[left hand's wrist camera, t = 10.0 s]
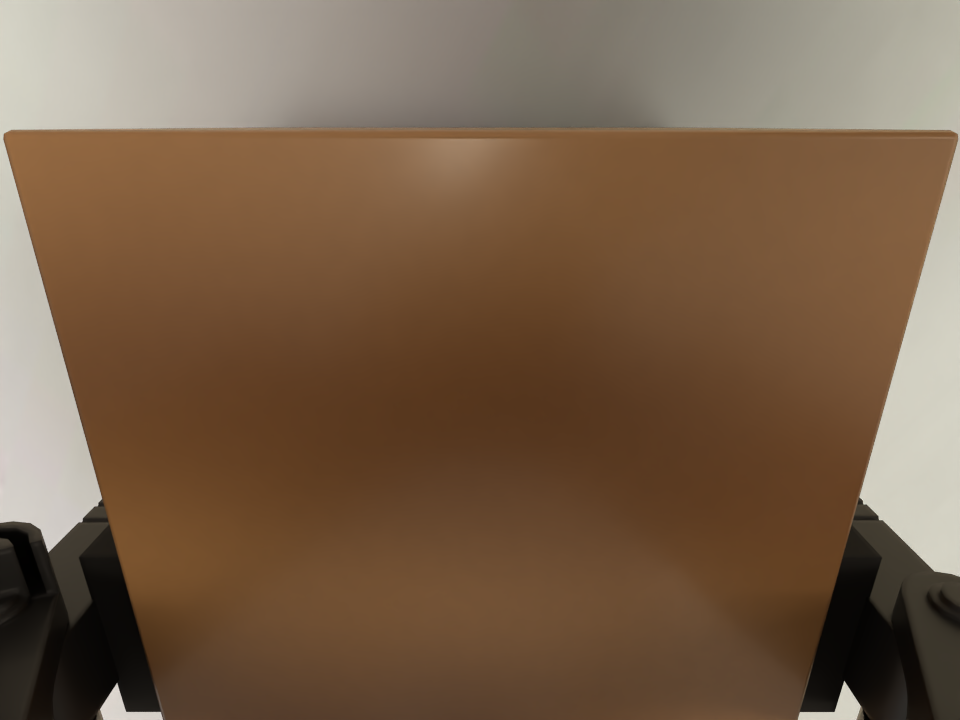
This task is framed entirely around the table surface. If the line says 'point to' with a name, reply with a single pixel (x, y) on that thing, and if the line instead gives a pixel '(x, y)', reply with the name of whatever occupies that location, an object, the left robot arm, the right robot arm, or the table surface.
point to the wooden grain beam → (480, 404)
